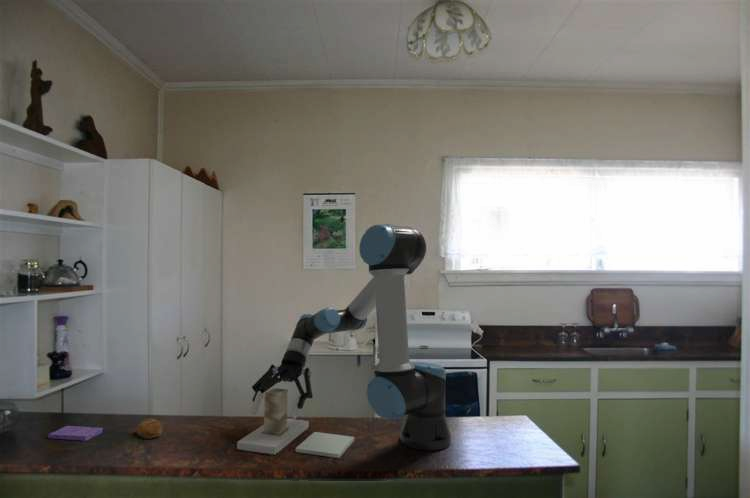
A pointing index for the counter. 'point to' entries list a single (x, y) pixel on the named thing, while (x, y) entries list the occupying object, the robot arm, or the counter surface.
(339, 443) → the tile
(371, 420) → the counter surface
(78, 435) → the sponges
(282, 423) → the peg
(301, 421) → the plate with hole
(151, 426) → the pastry
